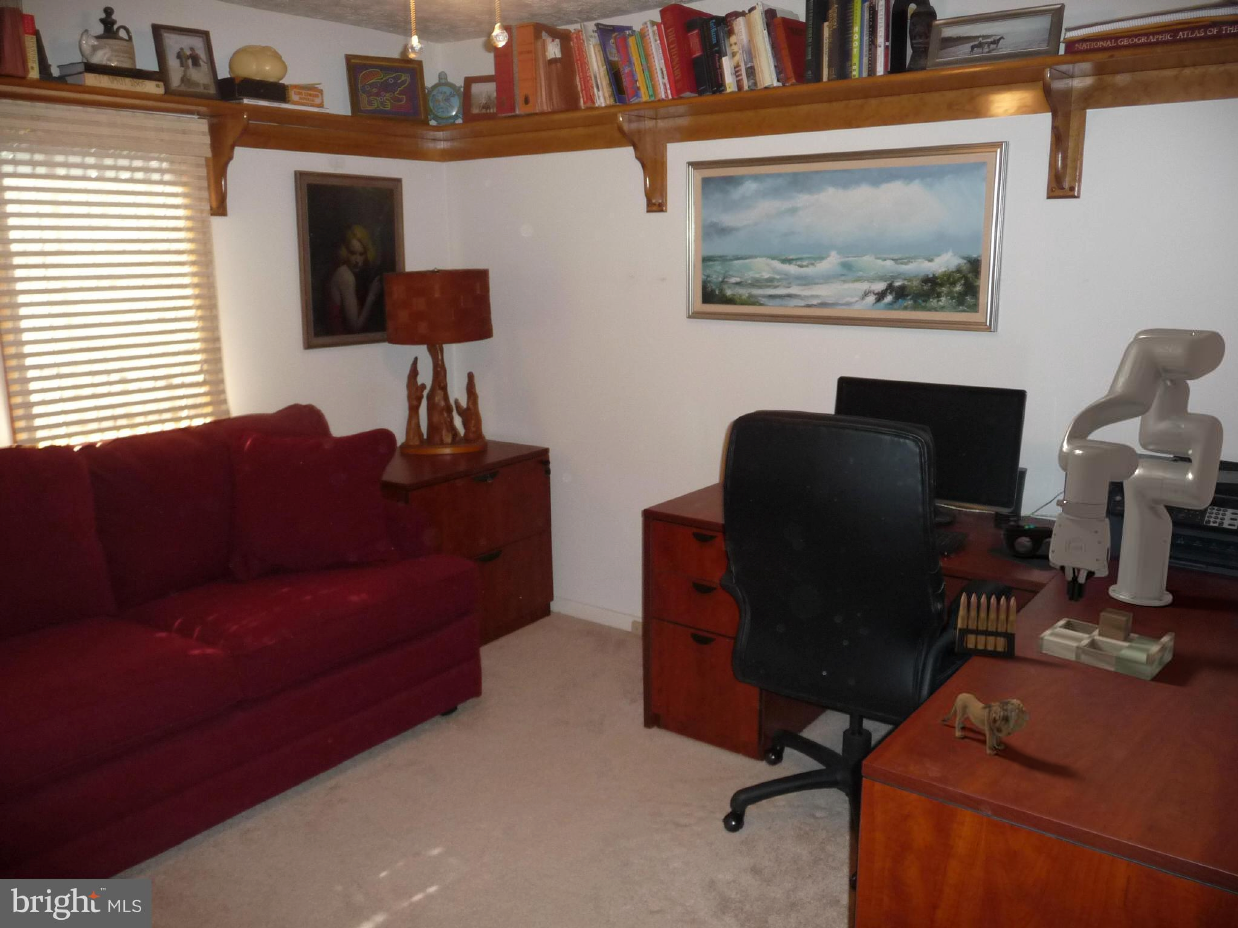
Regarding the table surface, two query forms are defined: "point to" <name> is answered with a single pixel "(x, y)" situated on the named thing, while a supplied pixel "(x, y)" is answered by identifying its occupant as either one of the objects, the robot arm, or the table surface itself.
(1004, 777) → the table surface
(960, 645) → the ammunition clip
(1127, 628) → the walnut block
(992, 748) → the lion figurine
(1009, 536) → the controller
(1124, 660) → the divided compartment tray
